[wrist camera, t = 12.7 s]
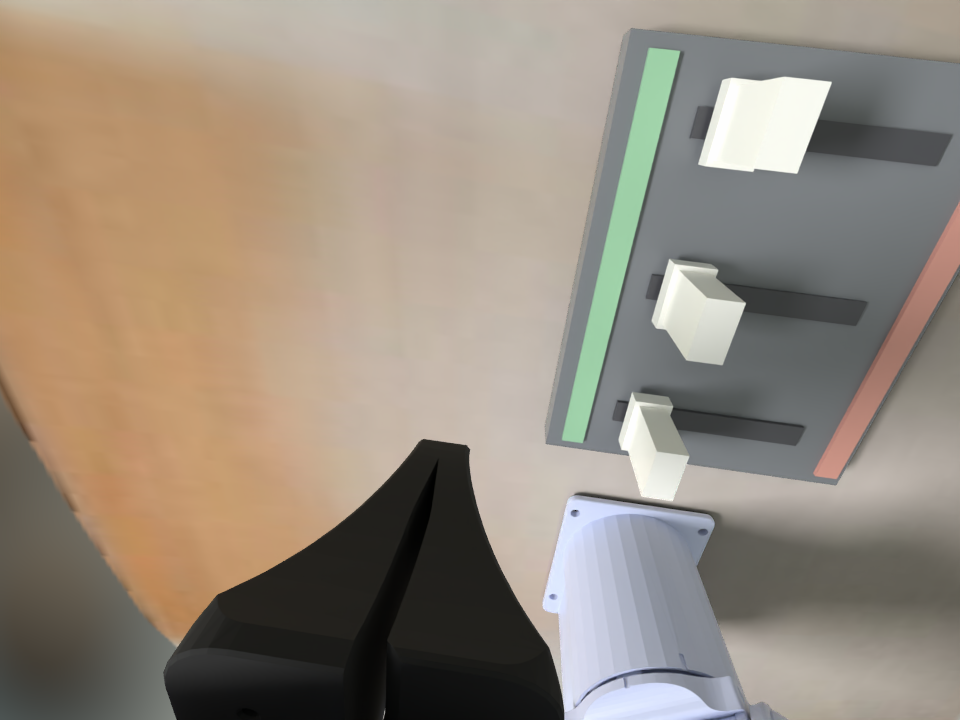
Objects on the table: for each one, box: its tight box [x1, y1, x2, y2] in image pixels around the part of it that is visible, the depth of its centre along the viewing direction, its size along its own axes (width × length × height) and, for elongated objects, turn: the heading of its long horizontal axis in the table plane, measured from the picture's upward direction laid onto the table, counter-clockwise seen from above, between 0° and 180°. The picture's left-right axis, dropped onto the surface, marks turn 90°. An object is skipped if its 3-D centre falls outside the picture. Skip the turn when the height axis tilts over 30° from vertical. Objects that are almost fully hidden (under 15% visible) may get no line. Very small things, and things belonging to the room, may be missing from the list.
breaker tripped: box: [652, 259, 746, 365], centre depth 17 cm, size 3×2×4 cm, turn 174°
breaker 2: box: [698, 77, 832, 174], centre depth 14 cm, size 3×2×4 cm, turn 174°
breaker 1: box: [618, 392, 689, 501], centre depth 20 cm, size 3×2×4 cm, turn 174°
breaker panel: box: [545, 28, 960, 485], centre depth 20 cm, size 17×14×2 cm
